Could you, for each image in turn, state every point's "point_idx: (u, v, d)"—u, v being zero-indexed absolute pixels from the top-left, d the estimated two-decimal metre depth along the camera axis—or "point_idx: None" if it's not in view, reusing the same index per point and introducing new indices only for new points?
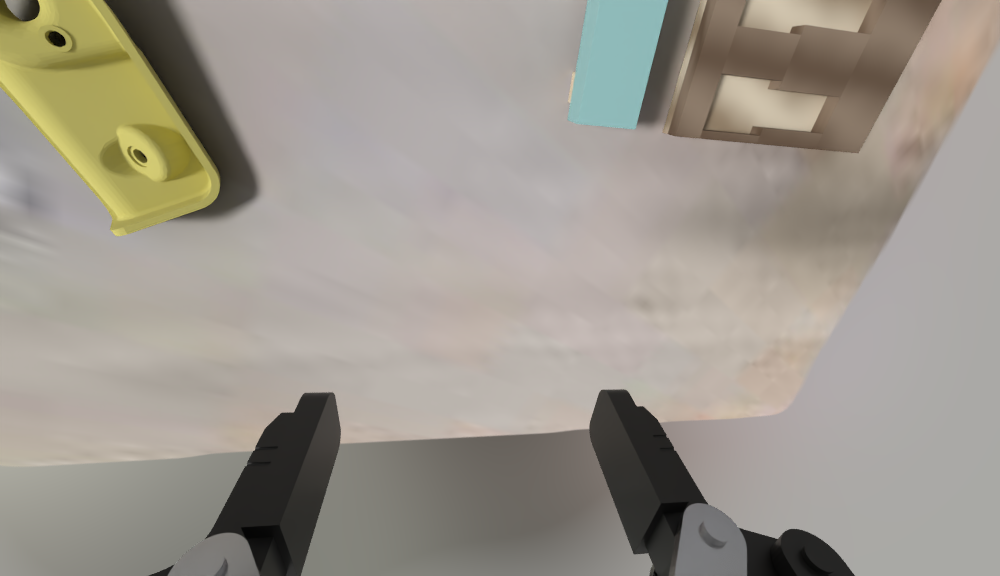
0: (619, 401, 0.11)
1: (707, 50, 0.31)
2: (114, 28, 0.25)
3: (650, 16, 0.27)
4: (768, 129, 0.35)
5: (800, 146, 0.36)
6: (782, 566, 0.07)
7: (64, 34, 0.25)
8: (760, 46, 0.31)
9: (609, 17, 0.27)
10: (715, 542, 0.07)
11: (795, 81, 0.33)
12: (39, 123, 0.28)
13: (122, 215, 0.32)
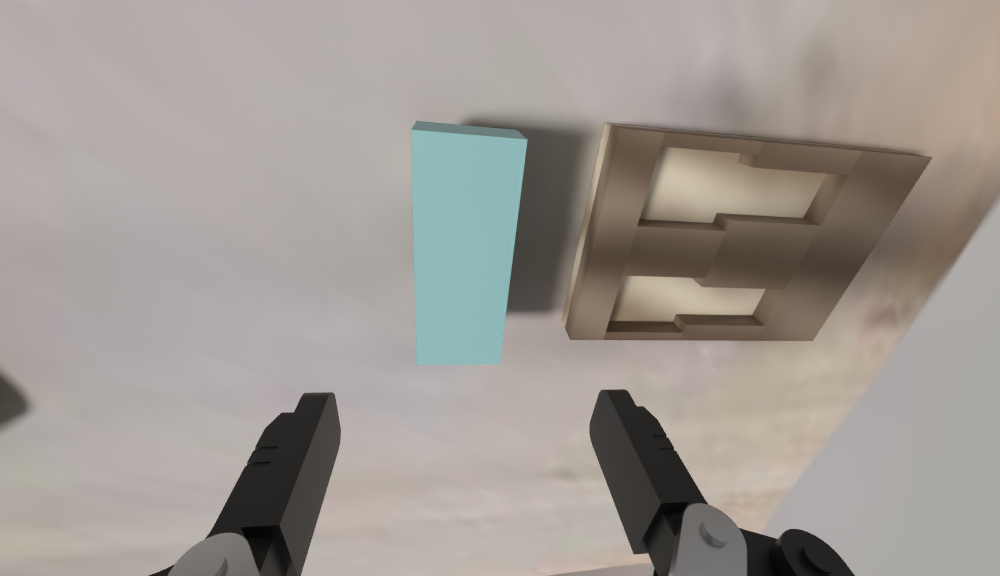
0: (619, 401, 0.11)
1: (599, 253, 0.23)
2: None
3: (493, 252, 0.19)
4: (693, 325, 0.27)
5: (737, 339, 0.28)
6: (782, 566, 0.07)
7: None
8: (671, 245, 0.23)
9: (432, 256, 0.19)
10: (715, 542, 0.07)
11: (723, 277, 0.25)
12: None
13: None
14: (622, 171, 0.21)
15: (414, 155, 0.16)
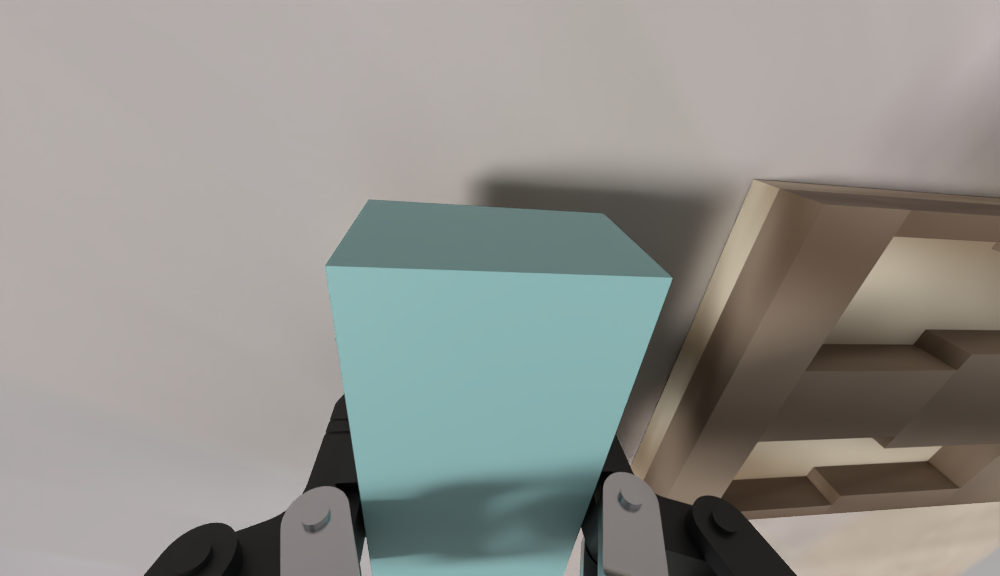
0: None
1: (725, 414, 0.12)
2: None
3: (549, 494, 0.08)
4: (851, 495, 0.16)
5: (911, 506, 0.18)
6: (697, 537, 0.08)
7: None
8: (855, 396, 0.13)
9: (408, 513, 0.08)
10: (629, 506, 0.08)
11: (923, 434, 0.14)
12: None
13: None
14: (804, 283, 0.10)
15: (343, 329, 0.05)
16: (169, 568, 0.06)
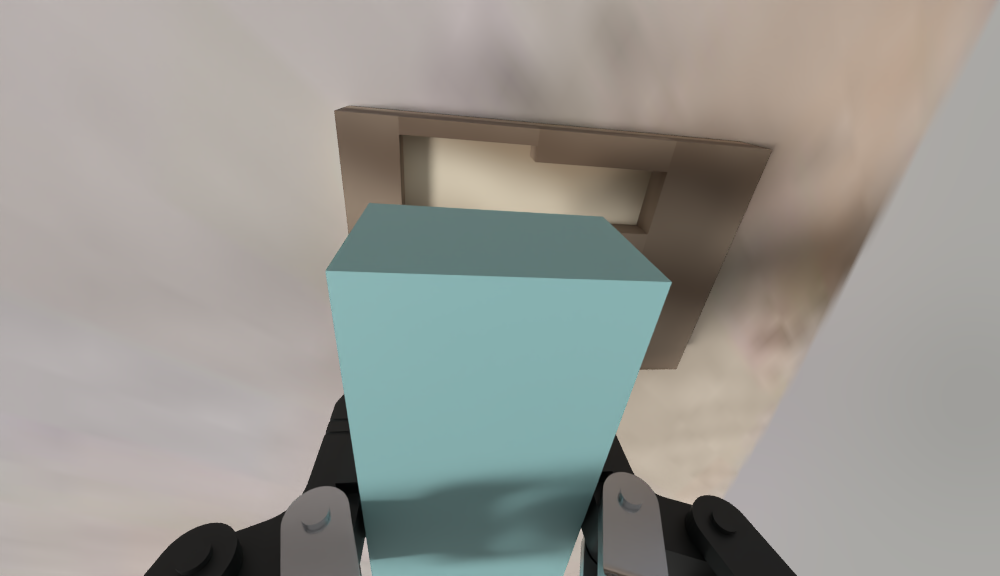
0: None
1: None
2: None
3: (549, 497, 0.08)
4: None
5: None
6: (697, 537, 0.08)
7: None
8: None
9: (408, 515, 0.08)
10: (629, 506, 0.08)
11: None
12: None
13: None
14: (357, 166, 0.16)
15: (343, 334, 0.05)
16: (169, 568, 0.06)
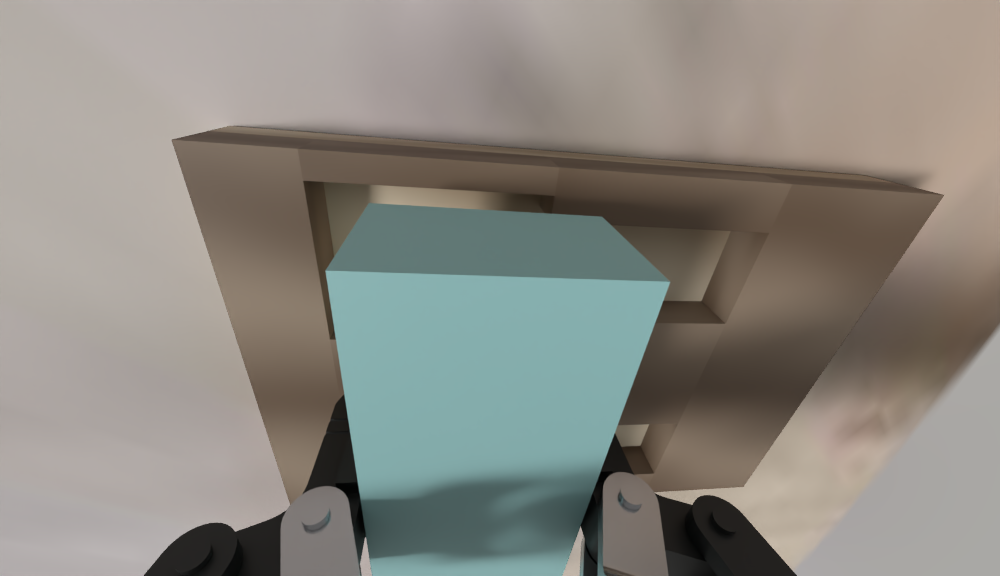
0: None
1: (271, 388, 0.11)
2: None
3: (548, 496, 0.08)
4: None
5: None
6: (697, 537, 0.08)
7: None
8: None
9: (408, 514, 0.08)
10: (629, 506, 0.08)
11: None
12: None
13: None
14: (233, 235, 0.09)
15: (343, 333, 0.05)
16: (169, 568, 0.06)
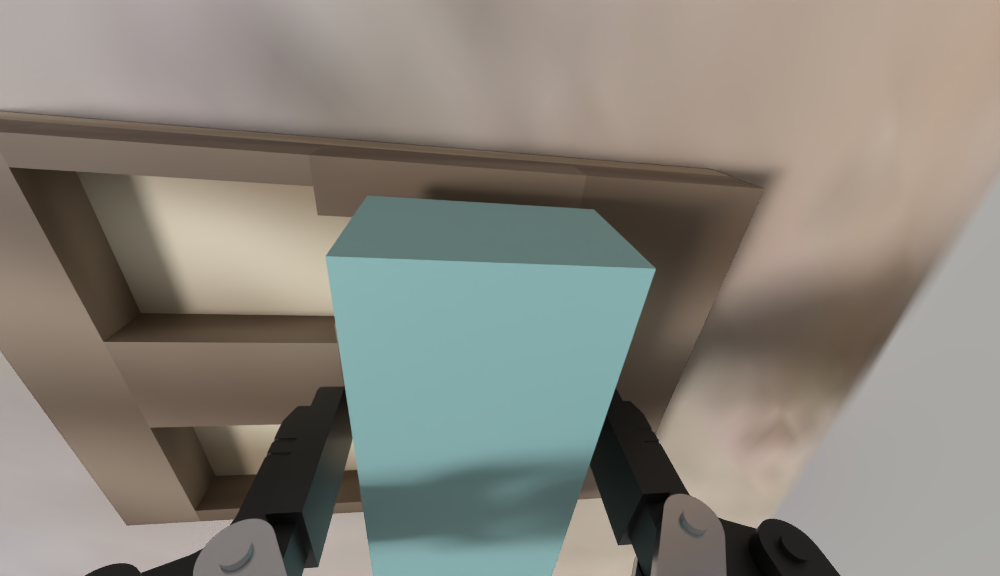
0: None
1: (54, 394, 0.11)
2: None
3: (541, 481, 0.08)
4: None
5: None
6: (761, 557, 0.08)
7: None
8: (224, 373, 0.11)
9: (405, 498, 0.08)
10: (694, 531, 0.08)
11: None
12: None
13: None
14: None
15: (342, 317, 0.06)
16: None
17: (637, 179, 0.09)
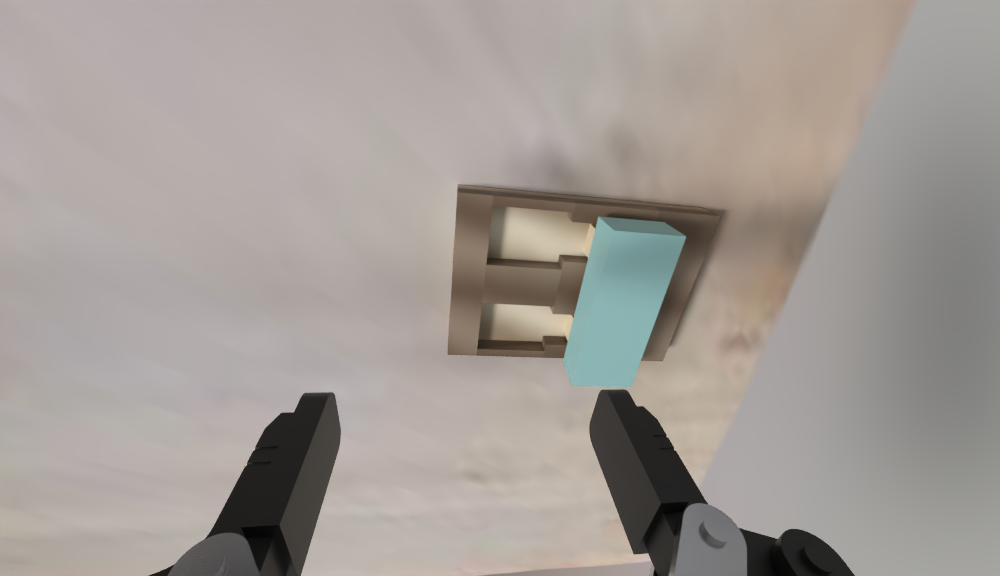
0: (619, 401, 0.11)
1: (458, 285, 0.29)
2: None
3: (646, 307, 0.27)
4: (552, 345, 0.33)
5: None
6: (782, 566, 0.07)
7: None
8: (518, 280, 0.29)
9: (605, 310, 0.26)
10: (715, 542, 0.07)
11: (568, 306, 0.31)
12: None
13: None
14: (465, 223, 0.27)
15: (611, 246, 0.24)
16: None
17: (676, 212, 0.28)
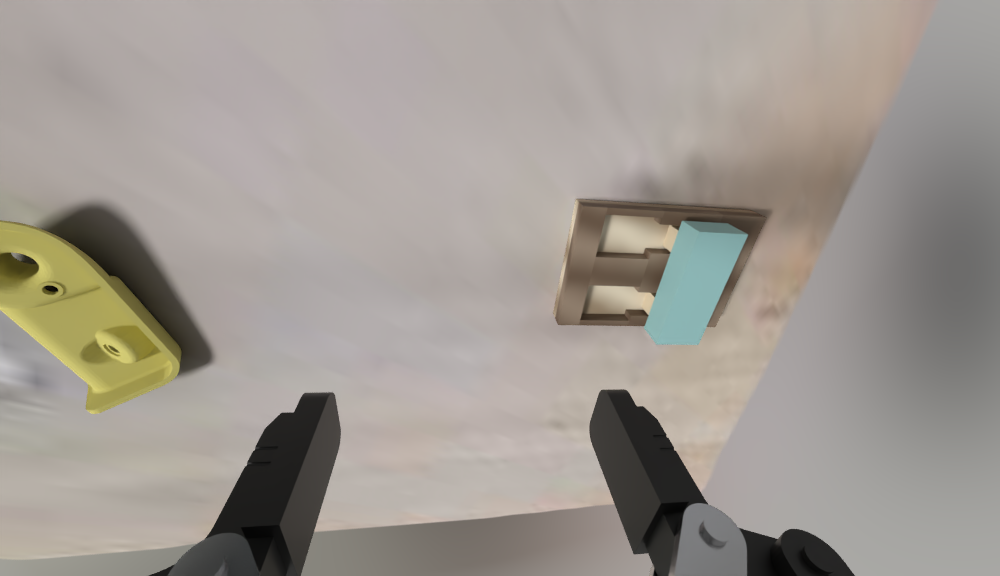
0: (619, 401, 0.11)
1: (574, 272, 0.39)
2: (97, 280, 0.33)
3: (715, 285, 0.37)
4: (635, 316, 0.43)
5: None
6: (782, 566, 0.07)
7: (57, 286, 0.33)
8: (617, 267, 0.40)
9: (686, 287, 0.37)
10: (715, 542, 0.07)
11: (650, 286, 0.41)
12: (32, 336, 0.35)
13: (96, 389, 0.39)
14: (585, 227, 0.37)
15: (696, 242, 0.34)
16: None
17: (735, 215, 0.38)
